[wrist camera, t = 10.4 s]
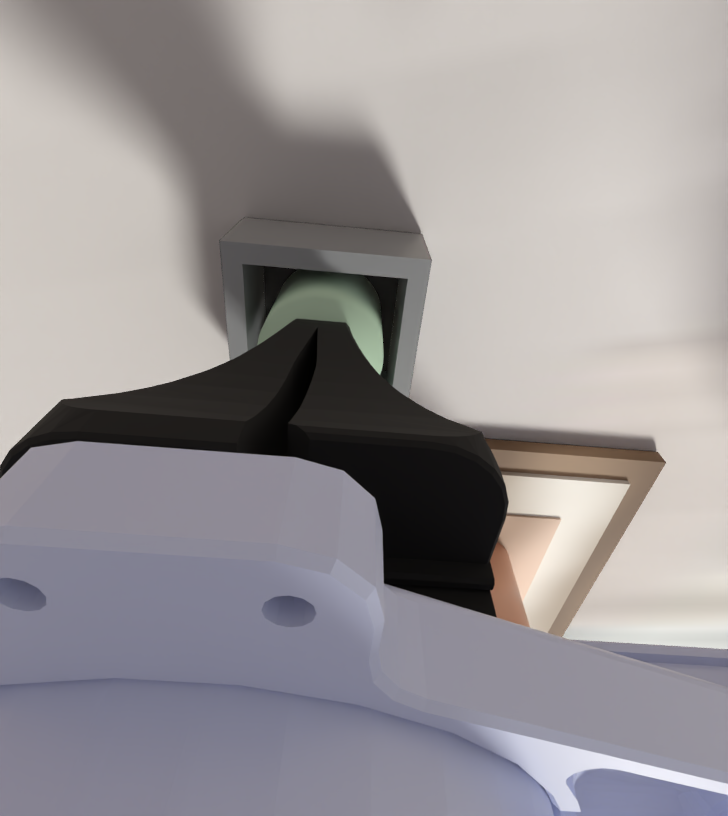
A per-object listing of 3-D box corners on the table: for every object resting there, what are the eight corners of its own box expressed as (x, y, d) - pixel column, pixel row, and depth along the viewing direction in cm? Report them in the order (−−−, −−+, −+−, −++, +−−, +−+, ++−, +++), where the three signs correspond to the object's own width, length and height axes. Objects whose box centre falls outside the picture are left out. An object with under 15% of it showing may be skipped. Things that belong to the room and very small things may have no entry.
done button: (387, 266, 13) (390, 303, 11) (376, 364, 15) (376, 414, 13) (275, 256, 13) (254, 291, 11) (277, 356, 15) (259, 405, 12)
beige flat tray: (657, 451, 17) (670, 468, 16) (510, 709, 29) (513, 725, 28) (255, 421, 17) (250, 435, 16) (271, 695, 28) (268, 711, 28)
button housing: (422, 233, 13) (431, 260, 11) (399, 384, 16) (403, 428, 14) (244, 217, 13) (218, 240, 11) (252, 373, 16) (234, 415, 14)
